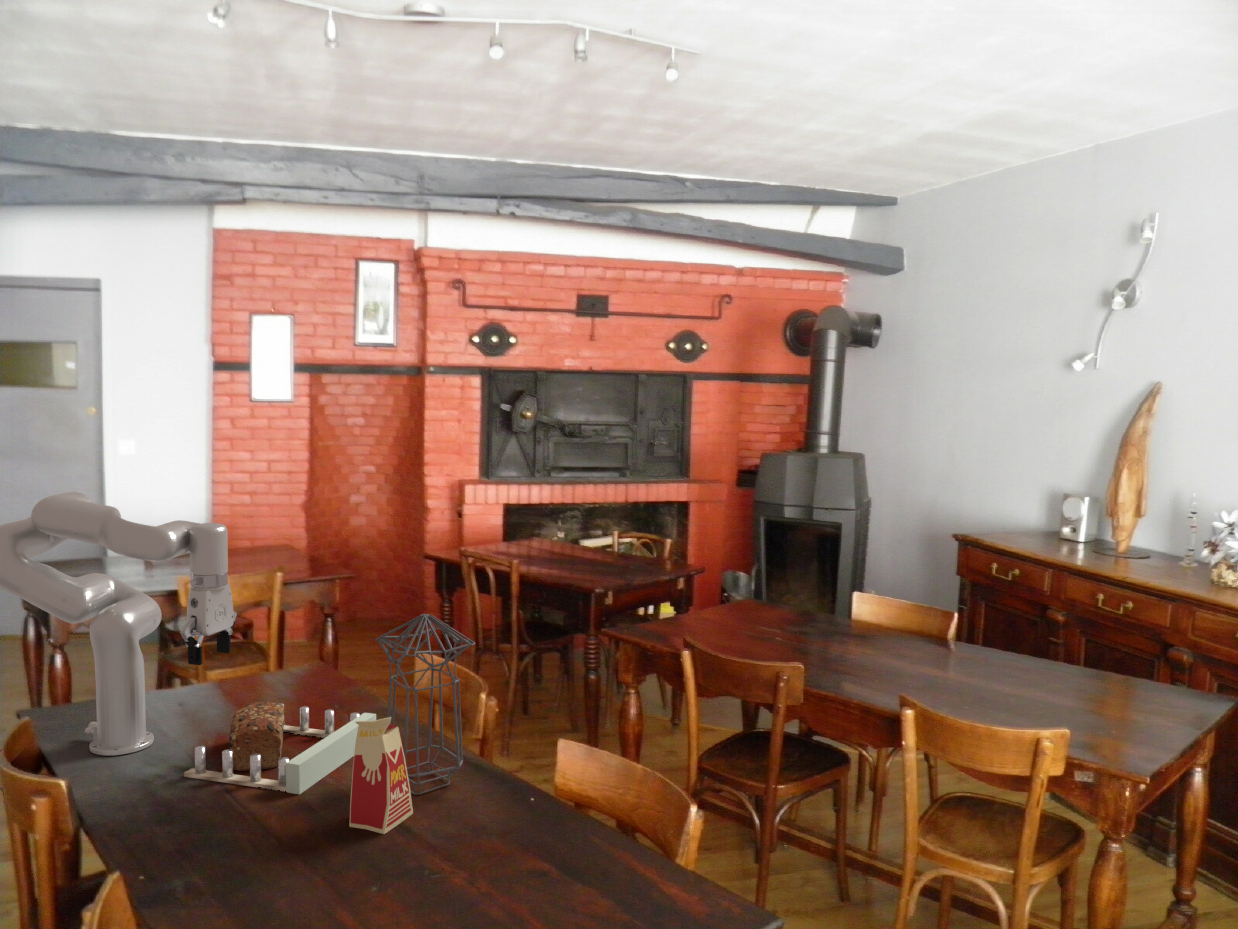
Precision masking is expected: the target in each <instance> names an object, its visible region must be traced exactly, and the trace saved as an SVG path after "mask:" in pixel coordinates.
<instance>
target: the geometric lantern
mask: <svg viewBox="0 0 1238 929" xmlns="http://www.w3.org/2000/svg"><path fill="white" fill-rule="evenodd" d="M407 626H408V627H407ZM435 626H436V627H435ZM405 627H407V628H406V629H404V631H402V633H400V635H392V634H393V633H395V632H397V631H399V630H401V629H403V628H405ZM428 627H429V629H428ZM415 628H416V630H415V631H414V629H415ZM413 631H414V633H413V634H411V633H412V632H413ZM436 631H441V632H442V634H443V636H444V638H445V641H446V643H447V645H448V647H449V648H448V649H445V647H444V644H443V643H442V641H441V640H440V637H439V636H438V634H437V632H436ZM423 635H425V638H424V639H423V640H422V641H421V639H422V636H423ZM432 635H433V636H434V637H435V640H436V642H437V644H438V645H439V646H440V648H441V650H432V649H431V641H430V638H431V636H432ZM408 638H411V640H410V641H409V643H408V644H407V641H408ZM416 638H417V641H416V646H415V647H412V645H413V643H414V641H415V640H416ZM449 638H451V641H452V642H453V647H452V643H451V641H450V640H449ZM391 639H394V640H391ZM399 640H400V641H399ZM374 641H375V642H378V644H379V645H380V647H381V648H382V650H383V651H384V653H385V655H386V656H387V661H388V662H389V685H388V686H389V687H388V697H387V698H388V699H387V700H388V702H387V713H386V714H387V715H386V718H388V717H392V718H391V722H390V724H393V725H395V724H394V722H395V721H394V720H395V711H396V698H397V685H399V686H400V687H402V688H403V689H405V690H406V700H405V702H406V703H405V717H404V718H405V719H404V739H403V741H404V742H403V752H404V756H405V762H406V763H407V754H408V753H413V752H415V764H414V765H412V766H411V765H410V766H407V771H408V770H411V769H414V768H415V772H416V773H414V774H408V779H409V783H411V784H412V785H413V791H412V789H410V792H411V795H414V796H418V795H424V794H427V793H429V792H431V791H432V792H433V791H435V790H438V789H440V788H444V787H447V786H450V783H451V775H452V774H454V773H455V772H457V771H458V770H459V769H460V768H461V767H462V764H463V762H464V754H463V753H464V751H463V735H462V734H463V732H462V730H463V729H462V712H461V711H462V707H461V688H460V687H461V684H460V682H461V678H458V677H457V656H461V655H462V653H463V652H464V651H465V650H467V649H469V648H470V647H473V646H474V645H476V642H475V641H473V640H472V639H470V638H469V637H467V636H466V635H464V634H462V633H461V632H459V631H458V630H456V629H455V628H453V627H451V626H450V625H448V624H447V623H446V622H445V623H444V621H442V620H440V619H439V618H437V617H436V616H434V615H433V614H428V613H422V614H420V615H418V616H416V617H414V618H413V619H410V620H409V621H407V622H405V623H403V624H401V625H400V626H397V627H395V628H394V629H392V630H389V631H388V632H386V633H383V634H381V635H379V637H377V638H376V639H375V640H374ZM398 641H399V642H398ZM403 643H404V646H403V645H402V644H403ZM425 643H427V650H420V649H421V647H422V646H423V645H424V644H425ZM463 643H465V644H463ZM385 645H387V647H385ZM457 645H459V646H457ZM394 646H395V647H394ZM399 648H400V649H402V650H398V649H399ZM390 649H391V651H390ZM457 650H458V651H457ZM410 651H414V652H413V653H412V654H409V652H410ZM390 652H391V654H392V656H391V655H390ZM395 653H397V654H400V657H398V658H397V659H396V657H395ZM453 653H454V654H453ZM425 654H427V655H429V656H430V660H431V662H429V661H428V659H427V658H426V657H425V656H424V655H425ZM437 654H438V655H439V654H444V661H443V662H439V663H436V664H434V655H437ZM452 654H453V655H452ZM420 655H421V656H420ZM405 657H413V658H415V657H416V658H417V659H418V660H420V661H421V662H423V663H425V664H426V665H428V667H427V668H423V669H418V670H412V671H407V672H403V671H402V669H401V665H402V662H403V658H405ZM452 660H454V675H453V672H452V671H451V668H450V666H449V664H448V663H450V661H452ZM392 663H393V664H394V665H395V666H396V670H395V673H394V674H393V675H392ZM437 667H440V668H437ZM444 667H446V669H447V671H446V670H444V669H443V668H444ZM428 671H430V672H431V673H430V675H431V676H430V687H429V686H428V687H424V688H416V687H417V685H418V684H419V683H420V681H421V680H422V679H423V677H424V676H425V674H427V672H428ZM420 672H423V673H422V674H421V676H420V677H419V678H418V680H417V682H416V683H415V684H414V686H413V687H410V686H409V684H408V682H407V680H406V677H405V675H410V674H415V673H420ZM435 672H438V685H434V683H435V682H434V680H435V675H434V674H435ZM442 673H443V674H445V675H447V676H449V677H450V679H451V681H452V682H450V683H444V684H443V682H442V680H443V679H442ZM398 676H400V677H401V679H402V681H403V683H404V684H402V683H400V682H399V681H398ZM447 686H452V701H453V702H452V704H453V716H454V732H455V734H454V735H455V749H456V750H455V752H456V754H455V753H453V752H452V751H450V750H449V749H447V748H446V747H444V726H443V725H444V723H443V720H444V718H443V687H447ZM436 688H438V692H439V693H438V696H439V697H438V698H439V732H440V734H439V735H440V737H439V738H440V745H436V744H435V745H434V744H432V730H433V729H432V726H433V724H432V723H433V706H434V705H433V704H434V702H433V700H434V699H433V698H434V689H436ZM429 689H430V694H429V695H430V698H429V716H428V717H429V721H428V723H429V724H428V739H427V740H428V741H427V745H423V746H419V719H418V717H419V715H418V710H419V709H418V705H419V704H418V692H421V691H426V690H429ZM392 690H393V693H392ZM456 690H457V691H456ZM410 691H411V692H414V728H415V730H414V733H415V736H414V737H415V748H412V749H408V732H409V730H408V729H409V728H408V727H409V713H410V712H409V710H410V709H409V707H410ZM456 692H457V694H456ZM392 694H393V696H392ZM456 696H457V698H456ZM391 706H392V707H391ZM431 748H432V749H438V751H437V753H436V755H435V756H434V757H433V760H432V761H431V762H430V750H431ZM425 749H427V756H426V761H425V762H422V763H420V762H419V761H420V760H419V757H420V756H419V751H420V750H425ZM442 751H444V752H445V753H447V754H448V755H450V756H452V757H453V758H455V759H456V765H453V766H449V767H444V768H443V767H441V766H439V765H438V764H437V763H434V762H435V761H436V760H437V758H438V756H439V754H440V752H442ZM424 765H425V770H423V771H420V766H424ZM428 765H430V769H429V768H428ZM434 767H436V768H438V769H436V770H434ZM443 772H445V773H446V774H444V775H442V774H440V773H443ZM434 774H435V775H436V776H437V777H434V778H430V779H425V780H423V781H421V780H420V777H421V778H422V777H425V776H429V775H430V776H431V775H434ZM411 778H417V782H415V781H413V780H412V779H411ZM439 779H440V780H441V779H442V780H444V781H446V783H445V784H442V785H438V786H436V787H432V788H430V789H428V790H427V789H426V790H423V791H422V787H423V786H422V784H426V783H428V782H432V781H435V780H436V781H437V780H439ZM417 786H419V792H417Z"/></svg>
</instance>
